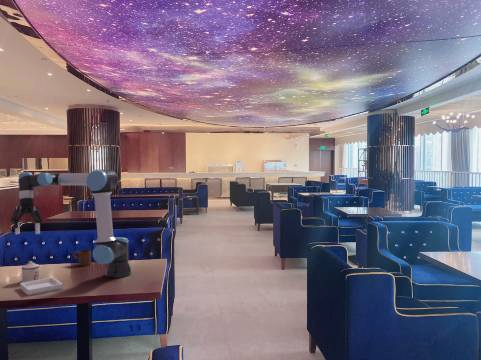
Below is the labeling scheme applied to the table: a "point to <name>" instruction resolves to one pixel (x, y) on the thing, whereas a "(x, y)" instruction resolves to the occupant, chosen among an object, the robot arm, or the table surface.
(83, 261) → the mug
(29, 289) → the tray
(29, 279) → the teacup with lid
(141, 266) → the table surface
